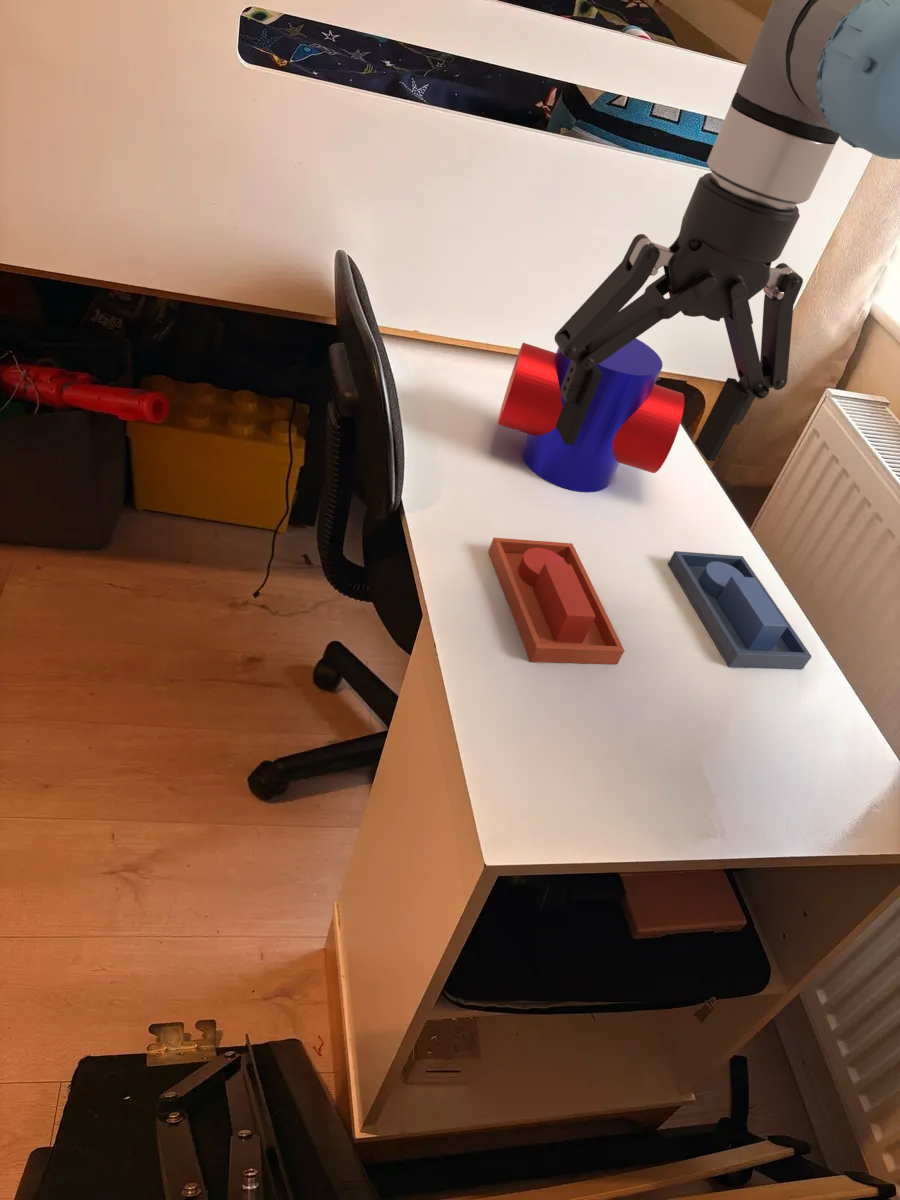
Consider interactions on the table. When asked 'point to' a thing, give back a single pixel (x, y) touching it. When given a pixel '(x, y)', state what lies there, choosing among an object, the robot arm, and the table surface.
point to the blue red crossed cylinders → (592, 416)
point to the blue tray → (735, 653)
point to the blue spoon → (744, 605)
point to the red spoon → (557, 594)
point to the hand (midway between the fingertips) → (636, 444)
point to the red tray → (530, 618)
